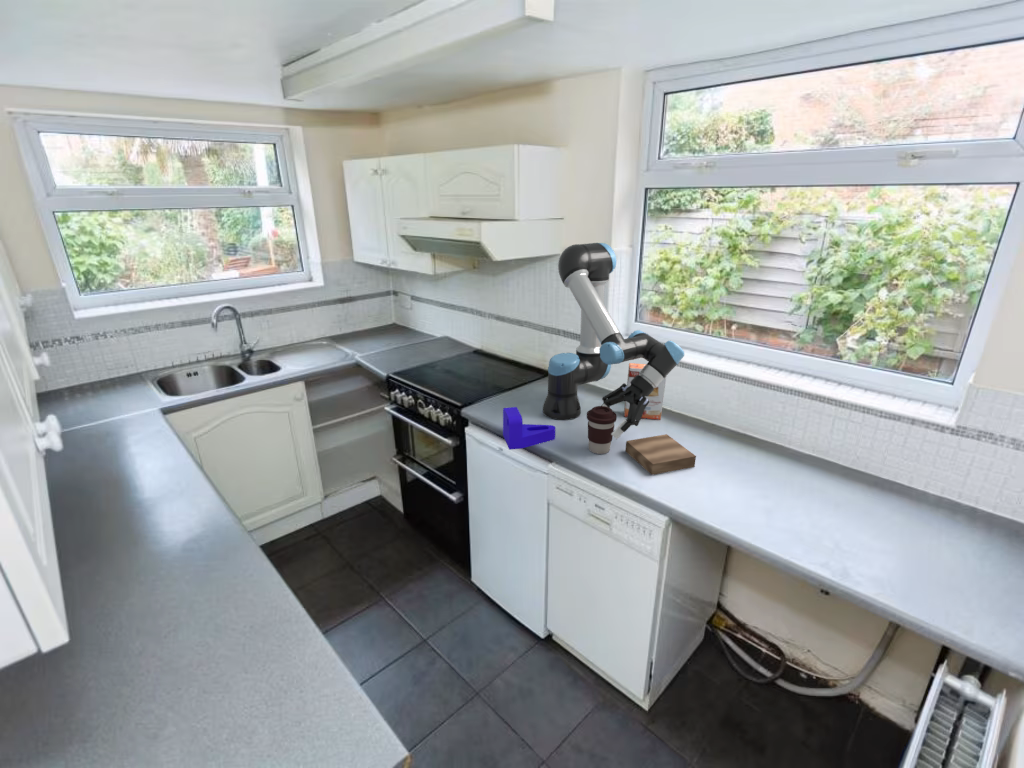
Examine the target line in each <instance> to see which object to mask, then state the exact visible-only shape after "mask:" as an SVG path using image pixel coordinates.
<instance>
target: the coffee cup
mask: <svg viewBox="0 0 1024 768" xmlns="http://www.w3.org/2000/svg"><path fill="white" fill-rule="evenodd" d="M617 417H618V415H617V413H616V412H615V411H613V409H611V407H610V408H609V407H605V406H601V405H596V406H594V407H592V408H591V409H589V410H588V411H587V412H586V419H587V421H588V422H587V438H588V449H589V451H590V452H591V453H593V454H596V455H597V454H598V455H604V454H605V455H606V454H607V453H609V452H610V450H611V445H612V440H613V438H614V437H613V436H612V435H611V434H612V433H613V431H614V430H615V423H616V421H617Z"/></svg>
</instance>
